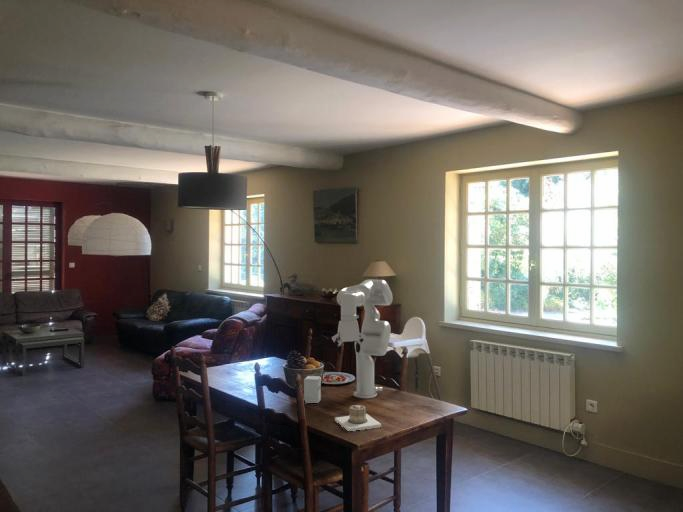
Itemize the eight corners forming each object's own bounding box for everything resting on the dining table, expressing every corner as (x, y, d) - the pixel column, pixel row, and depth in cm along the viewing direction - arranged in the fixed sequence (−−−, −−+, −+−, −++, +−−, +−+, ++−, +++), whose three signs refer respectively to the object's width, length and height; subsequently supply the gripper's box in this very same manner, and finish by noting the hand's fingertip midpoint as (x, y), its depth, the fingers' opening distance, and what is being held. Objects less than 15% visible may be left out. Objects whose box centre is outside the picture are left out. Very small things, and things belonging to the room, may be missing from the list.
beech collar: (361, 417, 253) (361, 404, 252) (367, 421, 246) (367, 408, 246) (347, 419, 250) (347, 406, 250) (353, 423, 243) (353, 410, 243)
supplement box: (317, 404, 278) (317, 379, 277) (303, 403, 279) (303, 379, 279) (321, 400, 285) (321, 376, 285) (307, 399, 287) (307, 375, 286)
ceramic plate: (315, 375, 338) (315, 370, 338) (356, 376, 335) (356, 371, 335) (308, 386, 313) (308, 381, 312) (352, 387, 310) (352, 382, 310)
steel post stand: (366, 416, 258) (366, 399, 258) (381, 427, 244) (381, 409, 243) (334, 420, 252) (334, 403, 252) (348, 432, 238) (348, 414, 237)
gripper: (361, 316, 273) (361, 350, 274) (329, 318, 267) (329, 352, 267) (367, 318, 266) (367, 353, 267) (334, 320, 260) (335, 356, 260)
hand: (348, 353), depth 267 cm, fingers open, 9 cm apart
